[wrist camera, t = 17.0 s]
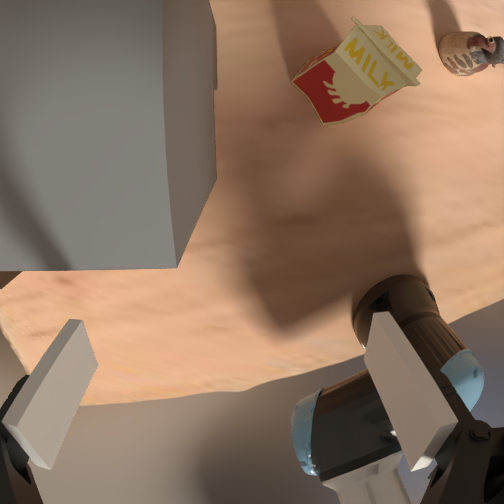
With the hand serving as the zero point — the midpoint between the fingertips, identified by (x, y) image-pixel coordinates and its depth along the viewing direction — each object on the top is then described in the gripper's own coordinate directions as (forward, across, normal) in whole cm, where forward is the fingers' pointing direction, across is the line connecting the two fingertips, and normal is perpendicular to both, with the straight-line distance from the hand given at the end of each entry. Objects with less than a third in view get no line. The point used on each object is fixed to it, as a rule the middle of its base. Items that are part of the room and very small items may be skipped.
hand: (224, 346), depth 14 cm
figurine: (+32, -34, -23) cm, 52 cm away
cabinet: (+32, +16, -13) cm, 38 cm away
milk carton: (+32, -13, -15) cm, 38 cm away
